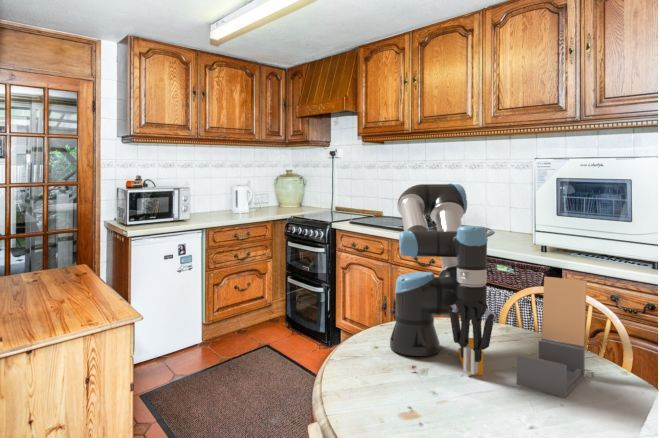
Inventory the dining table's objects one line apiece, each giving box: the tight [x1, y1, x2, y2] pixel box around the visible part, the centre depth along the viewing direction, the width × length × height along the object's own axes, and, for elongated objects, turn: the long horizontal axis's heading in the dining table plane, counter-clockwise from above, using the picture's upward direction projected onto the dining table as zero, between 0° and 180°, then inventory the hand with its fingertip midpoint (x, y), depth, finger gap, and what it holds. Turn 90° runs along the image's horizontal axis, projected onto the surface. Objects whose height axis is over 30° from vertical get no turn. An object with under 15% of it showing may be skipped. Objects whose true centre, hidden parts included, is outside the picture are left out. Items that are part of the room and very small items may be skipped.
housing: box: [516, 339, 586, 398], centre depth 106 cm, size 11×17×8 cm, turn 135°
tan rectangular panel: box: [540, 276, 588, 349], centre depth 112 cm, size 10×18×1 cm
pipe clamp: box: [457, 337, 484, 376], centre depth 116 cm, size 12×4×6 cm, turn 172°
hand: (470, 371), depth 109 cm, fingers closed
